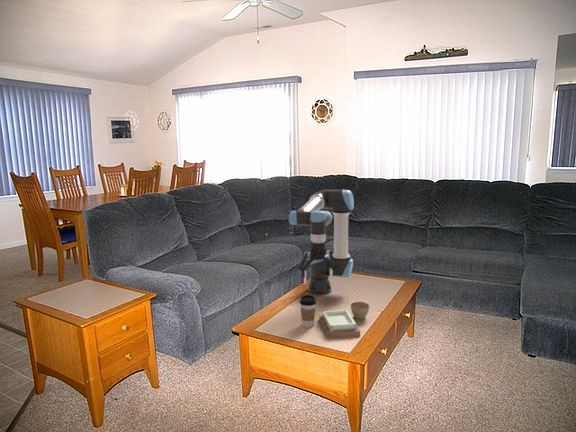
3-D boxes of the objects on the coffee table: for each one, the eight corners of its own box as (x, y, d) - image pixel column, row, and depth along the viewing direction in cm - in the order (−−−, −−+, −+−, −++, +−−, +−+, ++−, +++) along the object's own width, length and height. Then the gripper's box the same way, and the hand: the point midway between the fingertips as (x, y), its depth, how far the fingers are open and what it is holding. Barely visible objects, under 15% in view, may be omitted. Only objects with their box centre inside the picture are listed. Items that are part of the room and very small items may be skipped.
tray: (322, 316, 224) (322, 311, 223) (346, 314, 226) (346, 309, 225) (330, 331, 206) (330, 325, 206) (356, 329, 208) (356, 323, 207)
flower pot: (355, 322, 222) (355, 309, 221) (347, 315, 231) (347, 302, 230) (372, 320, 224) (372, 307, 223) (364, 313, 234) (364, 300, 233)
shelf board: (319, 319, 226) (319, 315, 226) (348, 317, 228) (348, 313, 228) (328, 338, 205) (328, 333, 204) (360, 336, 207) (360, 331, 206)
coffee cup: (315, 321, 224) (315, 294, 221) (317, 328, 215) (316, 300, 213) (299, 322, 224) (299, 295, 221) (300, 329, 215) (300, 301, 213)
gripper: (294, 244, 207) (295, 286, 210) (344, 242, 211) (343, 283, 214) (292, 241, 214) (292, 281, 218) (340, 238, 218) (339, 278, 221)
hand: (318, 282), depth 216 cm, fingers open, 13 cm apart
